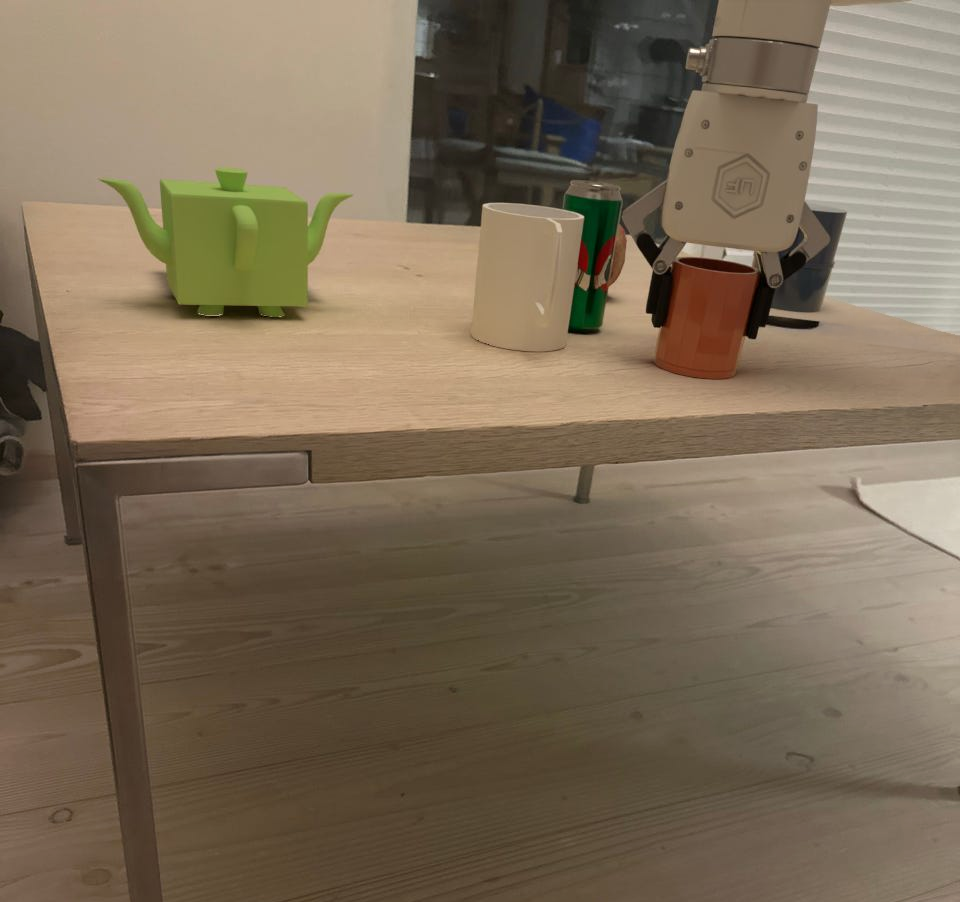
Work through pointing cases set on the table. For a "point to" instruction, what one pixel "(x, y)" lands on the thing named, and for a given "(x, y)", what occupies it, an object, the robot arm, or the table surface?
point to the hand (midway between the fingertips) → (702, 328)
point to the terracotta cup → (706, 317)
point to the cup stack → (808, 273)
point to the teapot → (232, 240)
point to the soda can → (593, 250)
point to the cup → (525, 276)
